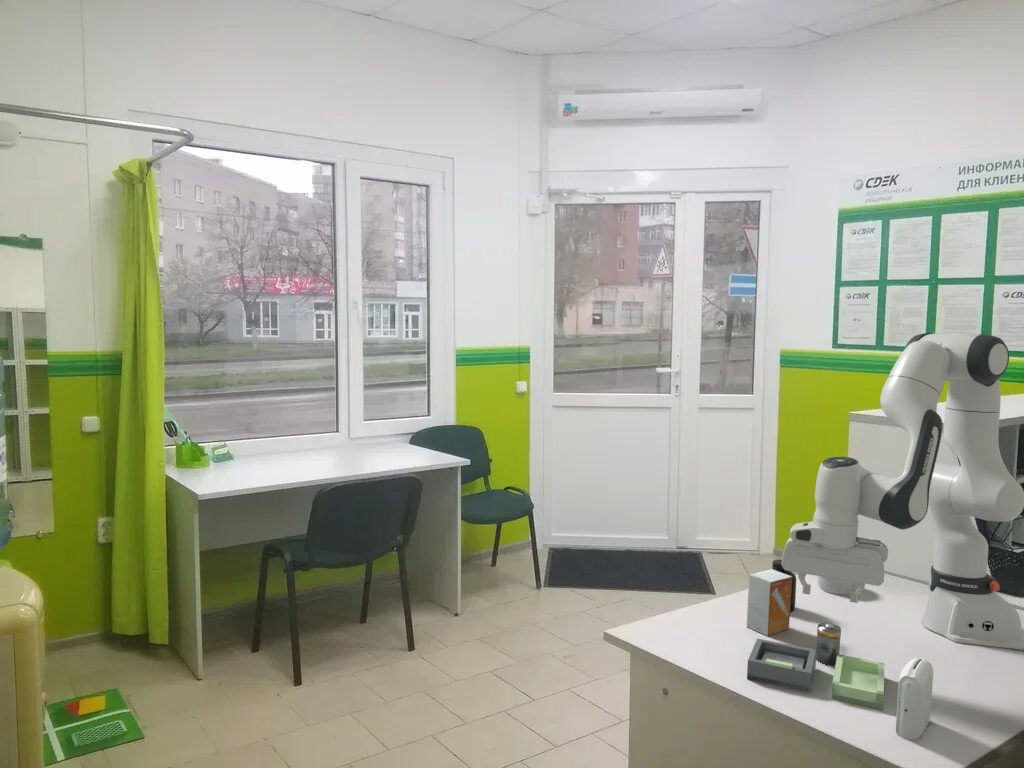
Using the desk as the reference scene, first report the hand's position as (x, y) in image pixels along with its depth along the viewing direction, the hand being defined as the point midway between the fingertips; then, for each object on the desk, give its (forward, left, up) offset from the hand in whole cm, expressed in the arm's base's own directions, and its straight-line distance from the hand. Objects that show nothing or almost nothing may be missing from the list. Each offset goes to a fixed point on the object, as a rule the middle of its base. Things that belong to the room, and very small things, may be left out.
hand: (829, 597), depth 166 cm
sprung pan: (+8, +11, -12) cm, 18 cm away
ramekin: (+1, -49, -15) cm, 51 cm away
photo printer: (-16, +22, -14) cm, 31 cm away
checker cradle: (+8, +11, -14) cm, 19 cm away
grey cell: (0, 0, -14) cm, 14 cm away
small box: (+14, -12, -14) cm, 23 cm away
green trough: (-7, +10, -14) cm, 18 cm away
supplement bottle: (+13, -27, -14) cm, 33 cm away
